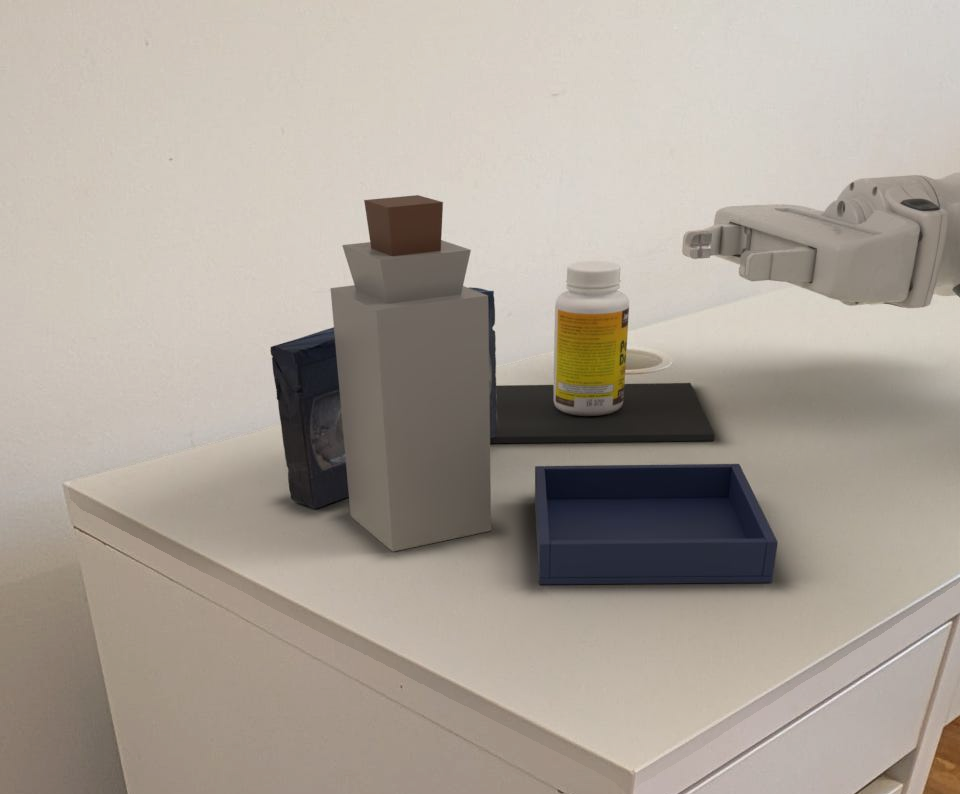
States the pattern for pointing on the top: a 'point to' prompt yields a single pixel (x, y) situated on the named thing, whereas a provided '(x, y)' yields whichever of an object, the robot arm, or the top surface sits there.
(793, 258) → the robot arm
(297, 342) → the vhs cassette tape
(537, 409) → the mat
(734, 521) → the box
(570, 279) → the supplement bottle
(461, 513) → the perfume bottle
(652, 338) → the top surface
